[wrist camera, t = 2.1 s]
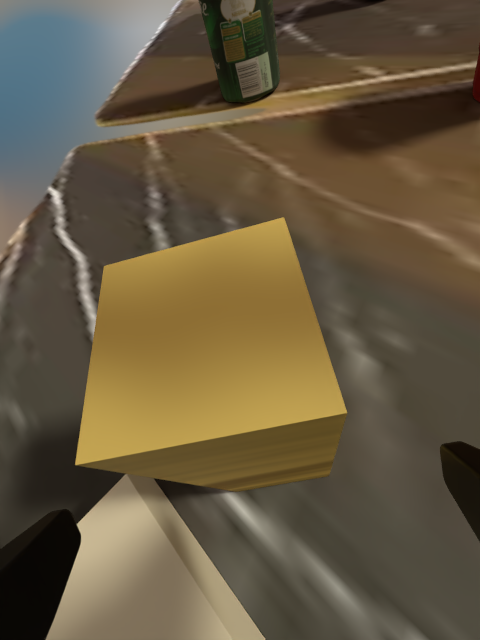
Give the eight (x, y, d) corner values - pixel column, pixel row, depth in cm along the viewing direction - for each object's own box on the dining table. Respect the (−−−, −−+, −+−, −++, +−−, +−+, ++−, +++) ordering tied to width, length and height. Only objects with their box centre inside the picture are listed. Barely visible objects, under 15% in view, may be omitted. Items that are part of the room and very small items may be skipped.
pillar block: (328, 476, 16) (347, 412, 5) (236, 491, 16) (74, 465, 6) (305, 385, 19) (284, 217, 8) (226, 401, 19) (104, 266, 8)
